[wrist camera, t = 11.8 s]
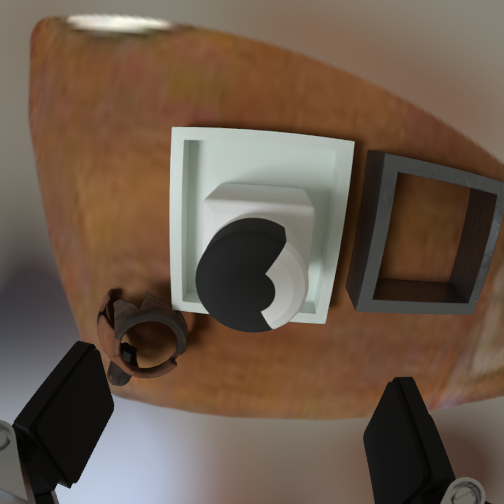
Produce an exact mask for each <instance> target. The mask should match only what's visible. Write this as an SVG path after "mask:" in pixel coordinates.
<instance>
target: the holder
mask: <svg viewBox="0 0 504 504" xmlns="http://www.w3.org/2000/svg"><path fill="white" fill-rule="evenodd" d="M398 172H401V173H406V174H412V175H417V176H422V177H426V178H431V179H436V180H441V181H445V182H449V183H454V184H458V185H462V186H466V187H470V188H471V192H470V198H469V203H468V208H467V213H466V218H465V223H464V227H463V232H462V236H461V240H460V244H459V248H458V252H457V255H456V259H455V263H454V266H453V270H452V273H451V276H450V280H449V283H437V282H422V281H408V280H394V279H381V278H378V274H379V270H380V266H381V261H382V257H383V252H384V247H385V243H386V238H387V233H388V228H389V222H390V217H391V211H392V205H393V200H394V193H395V187H396V180H397V173H398ZM503 211H504V182H501V181H497V180H494V179H491V178H488V177H484V176H481V175H477V174H474V173H470V172H466V171H463V170H459V169H455V168H451V167H447V166H443V165H439V164H435V163H430V162H426V161H421V160H417V159H412V158H407V157H403V156H398V155H392V154H387V153H382V152H376V151H370V150H368V152H367V161H366V169H365V177H364V184H363V191H362V198H361V205H360V211H359V218H358V224H357V230H356V235H355V241H354V246H353V252H352V257H351V262H350V267H349V272H348V277H347V282H346V290H347V292H348V294H349V297H350V299H351V301H352V304H353V306H354V308H355V311H360V312H381V313H409V314H473V313H474V310H475V307H476V305H477V302H478V299H479V297H480V294H481V291H482V288H483V285H484V282H485V279H486V276H487V273H488V269H489V266H490V263H491V259H492V256H493V252H494V249H495V245H496V241H497V237H498V233H499V229H500V225H501V220H502V216H503Z"/></svg>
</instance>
